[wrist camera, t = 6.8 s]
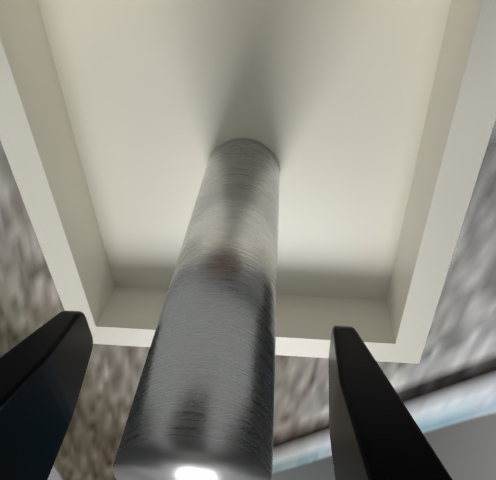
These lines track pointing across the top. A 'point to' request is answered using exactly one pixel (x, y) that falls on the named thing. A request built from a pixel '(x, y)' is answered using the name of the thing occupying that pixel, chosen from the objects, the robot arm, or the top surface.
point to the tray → (260, 129)
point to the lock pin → (214, 335)
